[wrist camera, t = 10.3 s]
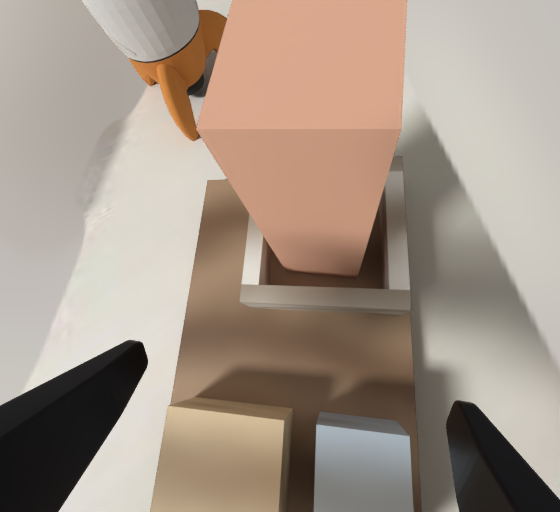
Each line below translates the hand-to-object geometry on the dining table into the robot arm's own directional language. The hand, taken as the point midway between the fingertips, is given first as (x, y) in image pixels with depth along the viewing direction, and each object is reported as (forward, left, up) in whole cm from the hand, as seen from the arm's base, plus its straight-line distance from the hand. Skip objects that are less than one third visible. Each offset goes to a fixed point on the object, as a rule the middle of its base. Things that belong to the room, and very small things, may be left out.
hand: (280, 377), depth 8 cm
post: (+8, -1, -9) cm, 12 cm away
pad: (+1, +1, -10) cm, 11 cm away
